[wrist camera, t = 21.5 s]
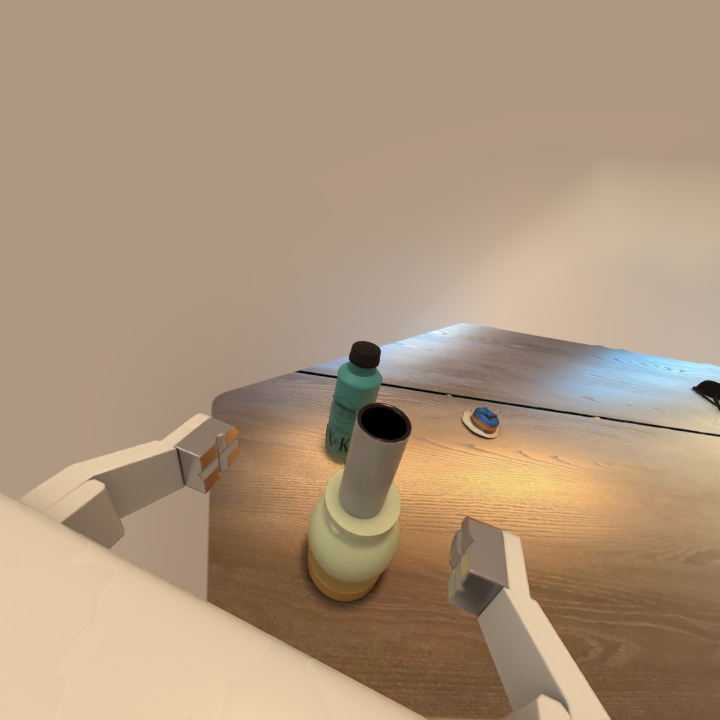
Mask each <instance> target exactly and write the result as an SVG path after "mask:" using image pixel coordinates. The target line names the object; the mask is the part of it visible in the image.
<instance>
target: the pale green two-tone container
mask: <svg viewBox="0 0 720 720" xmlns="http://www.w3.org/2000/svg"><path fill="white" fill-rule="evenodd" d="M344 468H345V467H343V468H341V469H340V470H338V471H337V472H336V473H335V474H334V475H333V476H332V477H331V478H330V480H329V482H328V484H327V487H326V488H325V489H324V490H323V492H322V493H321V494H320V495H319V496H318V498H317V499H316V501H315V503H314V505H313V507H312V509H311V512H310V515H309V520H308V531H307V532H308V542H309V546H308V552H307V564H308V570H309V573H310V576H311V578H312V580H313V582H314V583H315V585H316V586H317V587H318V589H319V590H320V591H321V592H322V593H324V594H325V595H326V596H328V597H330V598H332V599H335V600H338V601H353V600H357V599H359V598H361V597H363V596H365V595H366V594H367V593H369V591H370V590H371V589H372V588H373V587H374V586H375V584H376V582H377V580H378V578H379V576H380V574H381V573H382V572H383V571H384V570H386V569H387V567H388V566H389V565H390V563H391V562H392V560H393V558H394V556H395V554H396V551H397V549H398V546H399V541H400V531H401V528H400V519H399V515H400V510H401V499H400V495H399V492H398V490H397V487H396V486H395V484H394V483H393V481H392V484H391V487H390V489H389V492H388V494H387V497H386V500H385V502H384V505H383V507H382V509H381V510H380V512H379V513H378V514H377V515H375V516H373V517H371V518H366V519H362V518H357V517H354V516H352V515H350V514H349V513H348V512H346V511H345V509H344V508H343V507H342V505H341V503H340V500H339V489H340V484H341V480H342V476H343V472H344Z"/></svg>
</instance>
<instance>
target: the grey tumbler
mask: <svg viewBox="0 0 720 720" xmlns="http://www.w3.org/2000/svg"><path fill="white" fill-rule="evenodd" d="M411 430H412V426H411V423H410V420H409V419H408V417H407V416H406V415H405V414H404V413H403V412H402V411H401V410H399V409H398V408H396V407H394V406H392V405H389V404H385V403H371V404H367V405H365V406H363V407H362V408H361V409H360V410H359V412H358V414H357V417H356V421H355V425H354V430H353V434H352V438H351V442H350V446H349V451H348V455H347V459H346V463H345V468H344V472H343V476H342V480H341V484H340V489H339V500H340V503H341V505H342V507H343V508H344V509H345V511H346V512H348V513H349V514H350V515H352V516H354V517H357V518H362V519H366V518H371V517H373V516H375V515H377V514H378V513H379V512H380V510H381V509H382V507H383V505H384V502H385V500H386V497H387V494H388V492H389V489H390V487H391V484H392V481H393V479H394V476H395V473H396V471H397V468H398V466H399V463H400V460H401V458H402V455H403V453H404V450H405V447H406V445H407V442H408V439H409V437H410V434H411Z"/></svg>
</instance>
